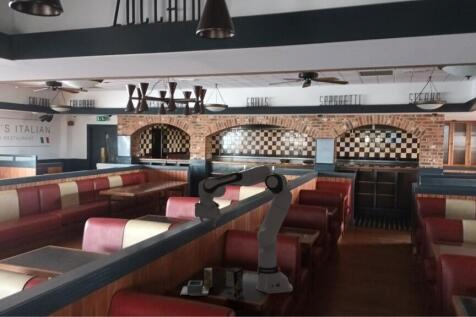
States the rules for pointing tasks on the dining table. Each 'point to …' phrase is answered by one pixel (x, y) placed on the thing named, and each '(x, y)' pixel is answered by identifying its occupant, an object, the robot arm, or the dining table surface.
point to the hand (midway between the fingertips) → (209, 225)
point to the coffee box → (234, 283)
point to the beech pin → (208, 277)
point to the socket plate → (195, 289)
